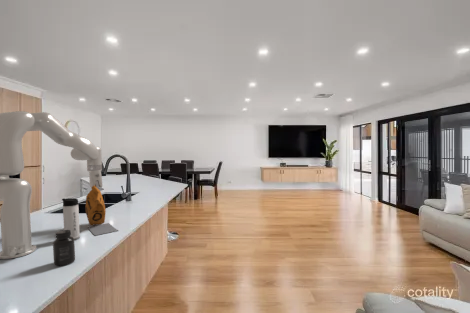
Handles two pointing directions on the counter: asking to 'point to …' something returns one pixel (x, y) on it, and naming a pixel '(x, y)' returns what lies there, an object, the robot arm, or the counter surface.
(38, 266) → the counter surface
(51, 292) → the counter surface
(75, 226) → the travel mug
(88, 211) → the coffee package
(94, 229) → the mat
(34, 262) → the counter surface
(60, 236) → the supplement bottle
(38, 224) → the counter surface
